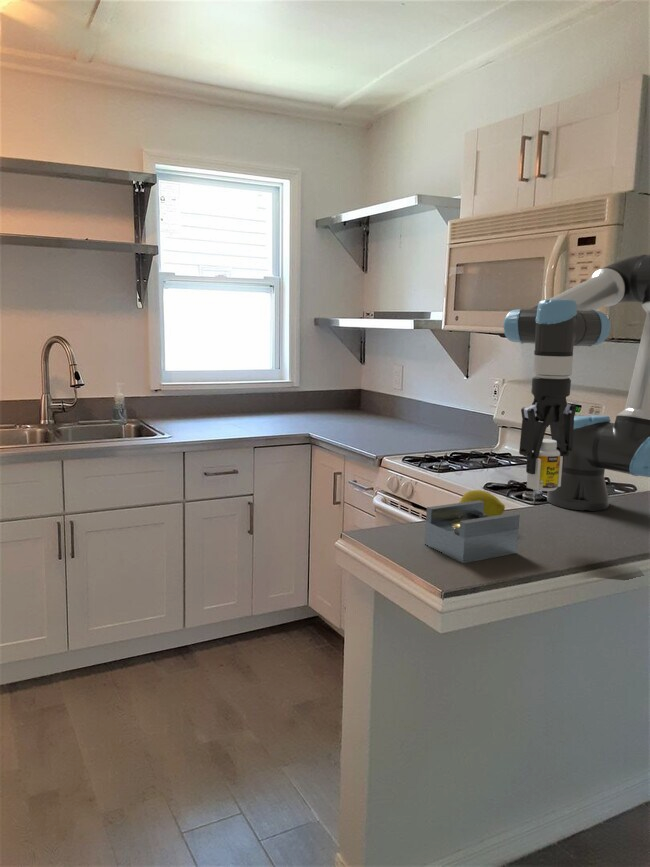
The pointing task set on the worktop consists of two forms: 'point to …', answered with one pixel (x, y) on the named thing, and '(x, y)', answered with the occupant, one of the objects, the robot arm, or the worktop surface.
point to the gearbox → (470, 531)
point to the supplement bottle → (549, 465)
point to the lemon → (485, 502)
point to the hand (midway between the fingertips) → (543, 486)
